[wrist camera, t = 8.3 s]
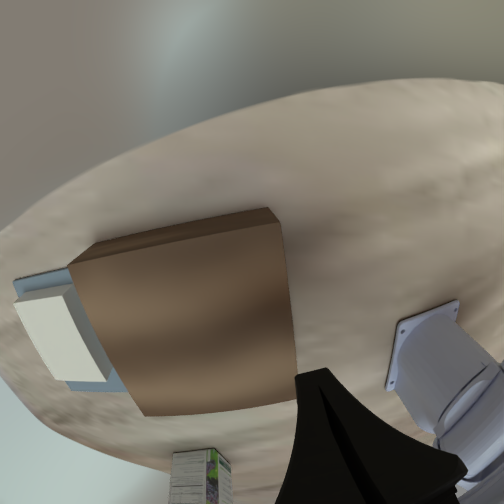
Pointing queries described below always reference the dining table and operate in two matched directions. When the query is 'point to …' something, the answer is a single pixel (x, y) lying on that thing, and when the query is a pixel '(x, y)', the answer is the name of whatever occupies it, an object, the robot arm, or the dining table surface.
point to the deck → (194, 313)
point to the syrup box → (200, 478)
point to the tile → (63, 334)
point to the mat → (60, 279)
